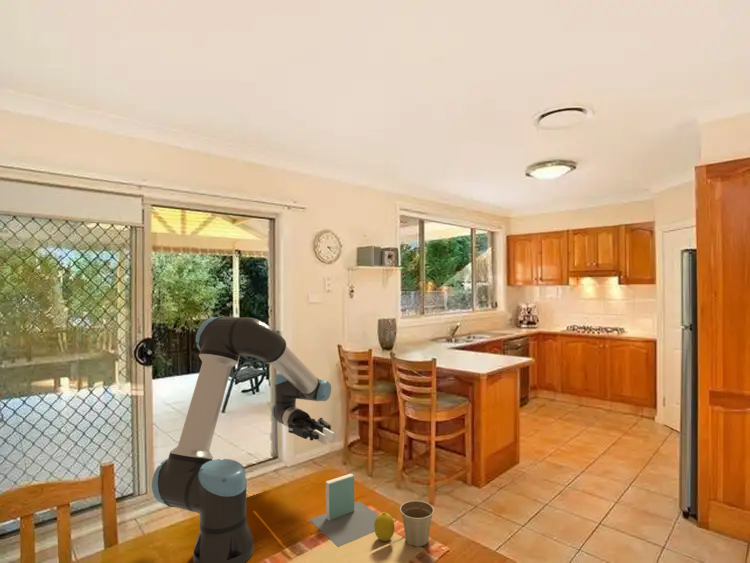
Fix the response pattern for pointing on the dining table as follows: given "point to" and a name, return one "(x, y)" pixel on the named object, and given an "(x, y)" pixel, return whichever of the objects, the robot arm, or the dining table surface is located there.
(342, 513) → the tile
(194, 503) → the robot arm
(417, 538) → the flower pot
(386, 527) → the lemon
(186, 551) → the dining table surface
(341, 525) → the mat
